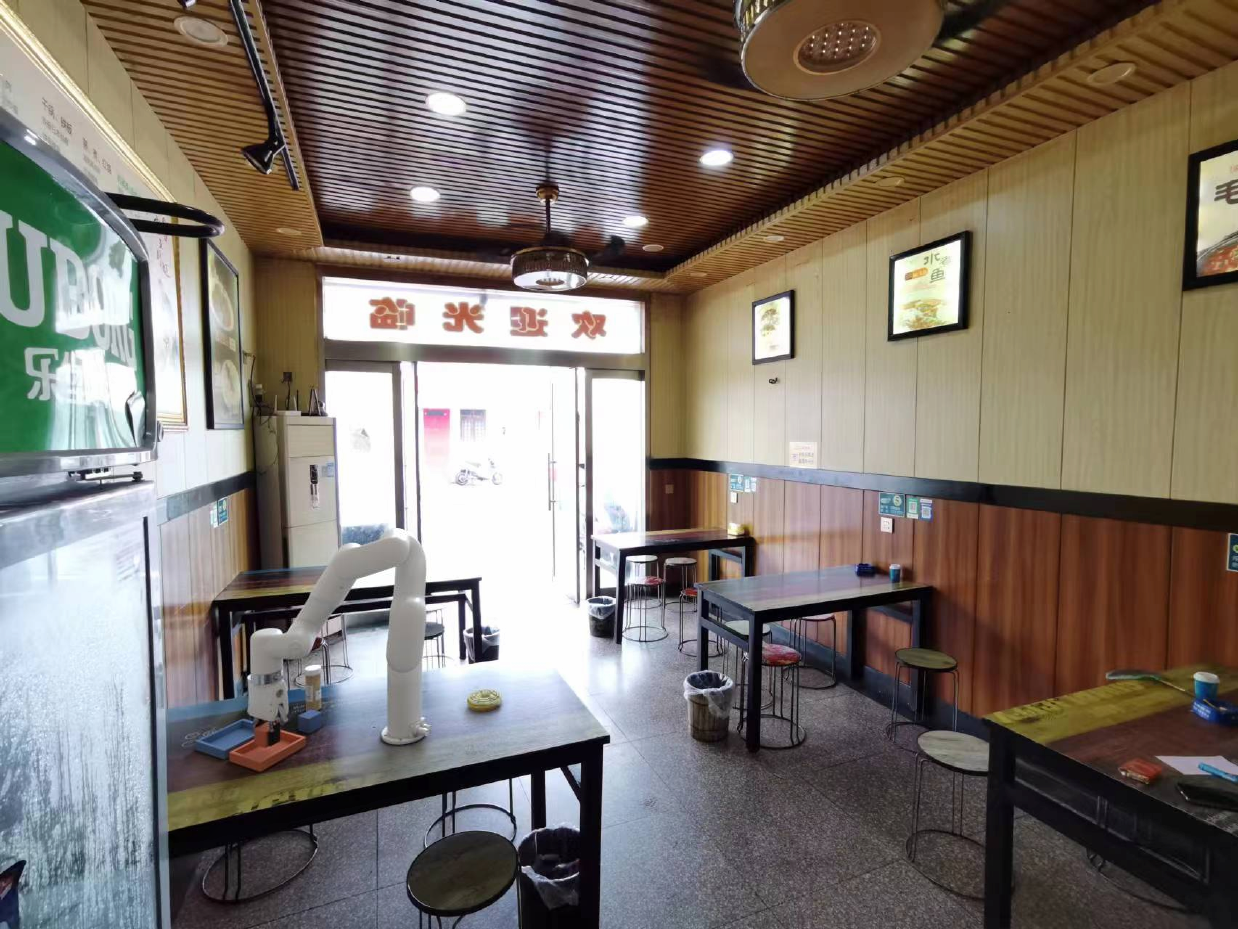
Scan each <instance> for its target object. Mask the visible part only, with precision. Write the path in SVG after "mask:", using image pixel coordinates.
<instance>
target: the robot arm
mask: <svg viewBox="0 0 1238 929" xmlns="http://www.w3.org/2000/svg"><path fill="white" fill-rule="evenodd" d="M393 568H394V569H395V570H394V585H393V593H392V599H391V600H392V601H391V604H390V608H389V620H388V630H387V631H388V632H387V640H386V651H385V659H386V725H387V726H385V727H384V728H383V729H382V730H381V734H380V735H381V740H382V741H383V742H385V743H386V744H389V745H397V746H398V745H407V744H412V743H416V741H419V740H421V739H422V738H423V737H428V736H429V735H430V732H431V730H432V727H433V726H432V725H430V724H427V723H426V717H424V716H423V656H424V646H425V638H426V637H425V636H426V627H427V606H426V585H427V559H426V553H425V551H424V548H423V546H422V544H421V543H420V541H419V540H418V539H417V538H416V537H415V536H414V535H413V534H412V533H410V532H409V531H407V530H405V529H403V528H396V527H393V528H389V529H387V530H385V531H384V532H383V533H382V534H381V535H380V537H379V538H378V539H377V540H374V541H371V542H368V543H364V544H360V543H356V542H348V543H345V544H343V545H341V546H340V547H339V548H338V549H337V550H336V552H335V554H334V555H333V557H332V558H331V560H330V561H329V562H328V565H327V566H326V568H325V569H324V571H323V572H322V573H321V574H320V576H319V579H318V580H317V582H316V583H315V585H314V586H313V588H312V589H311V591H310V593H309V597H308V599H307V600H306V602H305V603H304V605H303V607H302V608H301V610H300V611H299V613H298V614H297V616H296V617H295V619H294V621H293V622H292V624H291V625H290V627H289V628H288V630H287V631H286V632H284V633H283V631H282V630H281V629H279V628H276V627H275V628H274V627H271V628H270V627H268V628H262V629H259V630H256V631H255V632H253V633H252V634H251V636H250V639H249V640H250V641H249V642H250V645H249V646H250V648H249V650H250V674H251V682H250V688H249V692H248V697H247V701H248V702H247V710H246V713H247V714H248V715H249V717H250V719H251V721H253V727H255V728H257V727H259V726H261V725H263V724H265V723H266V722H269V728H270V732H268V746H270V747H271V746H273V745H275V744H276V743H278V742H280V730H281V729H282V728H283V726H284V725H285V724H286V723H288V722H289V718H288V716H289V696H288V688H287V684H286V680H284V660H293V661H295V660H301V659H304V658H305V657H307V656H308V655H309V654H310V652H311V651H312V649H313V646H314V644H315V641H316V639H317V638H318V635H319V634H320V632H321V630H322V629H323V627H324V626H325V624H326V622H328V619H329V618H330V616H331V615H332V613H334V611H335V610H336V609H337V608H339V607H340V606H341V605H342V603H343V602H344V601H345V599H346V597H347V596H348V594H349V593H350V591H351V589H352V588H353V587H354V585H355V583H356V581H357V580H358V579H362V578H366V577H368V576H369V577H370V576H372V575H375V574H377V573H382V572H384V571H388V570H391V569H393ZM274 723H276V724H275V725H274Z"/></svg>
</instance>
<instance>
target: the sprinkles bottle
mask: <svg viewBox="0 0 1238 929" xmlns="http://www.w3.org/2000/svg"><path fill="white" fill-rule="evenodd" d="M321 673H322V666H321V665H320V664H312V665H309V666H306V667H305V668H304V676H305V677H304V678H305V685H304V686H305V687H304V688H305V712H307V711H309V710H315V711H319V710H321V709H322V707H323V706H322V705H323V704H322V679H321V678H322V677H321Z"/></svg>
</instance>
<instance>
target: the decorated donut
mask: <svg viewBox="0 0 1238 929" xmlns="http://www.w3.org/2000/svg"><path fill="white" fill-rule="evenodd" d="M502 699H503V696H502V694H501V693H500V691H498V690H495V689H481V690H480V689H479V690H475V691H473V692H471V693H470V694H468V695H467V699H466V702H467V705H468V707H469V708H470V709H471V710H473V711H474V712H491V711H492V710H494V709H497V707H499V706H500V705H501V703H502Z"/></svg>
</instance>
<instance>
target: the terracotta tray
mask: <svg viewBox="0 0 1238 929" xmlns="http://www.w3.org/2000/svg"><path fill="white" fill-rule="evenodd" d="M306 745H307V737H306V736H304V735H300V734H296V733H293V732H290V731H286V730H283V729H280V742H278V743H276V744H275V745H273V746H271V747H270V746H269V747H267V748H264V747H261V746H258V745H255V744H254V740H252V741H251V742H249V743H247V744H245V745H243V746H241V747H239V748H237V749H235V750H233V751H231V752H229V758H228V759H229V762H230V763H233V764H236V765H239V766H242V767H245V768H248V769H251V770H254V771H257V772H260V773H261V772H263V771H265V770H267V769H268V768H269V767H271V766H273V765H275V764H277V763H278V762H280V761H282V760H284V759H286V758H288V757H289V756H291V755H292V754H294V753H296V752H298V751H300V750H301V749H302V748H305V747H306Z"/></svg>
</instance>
